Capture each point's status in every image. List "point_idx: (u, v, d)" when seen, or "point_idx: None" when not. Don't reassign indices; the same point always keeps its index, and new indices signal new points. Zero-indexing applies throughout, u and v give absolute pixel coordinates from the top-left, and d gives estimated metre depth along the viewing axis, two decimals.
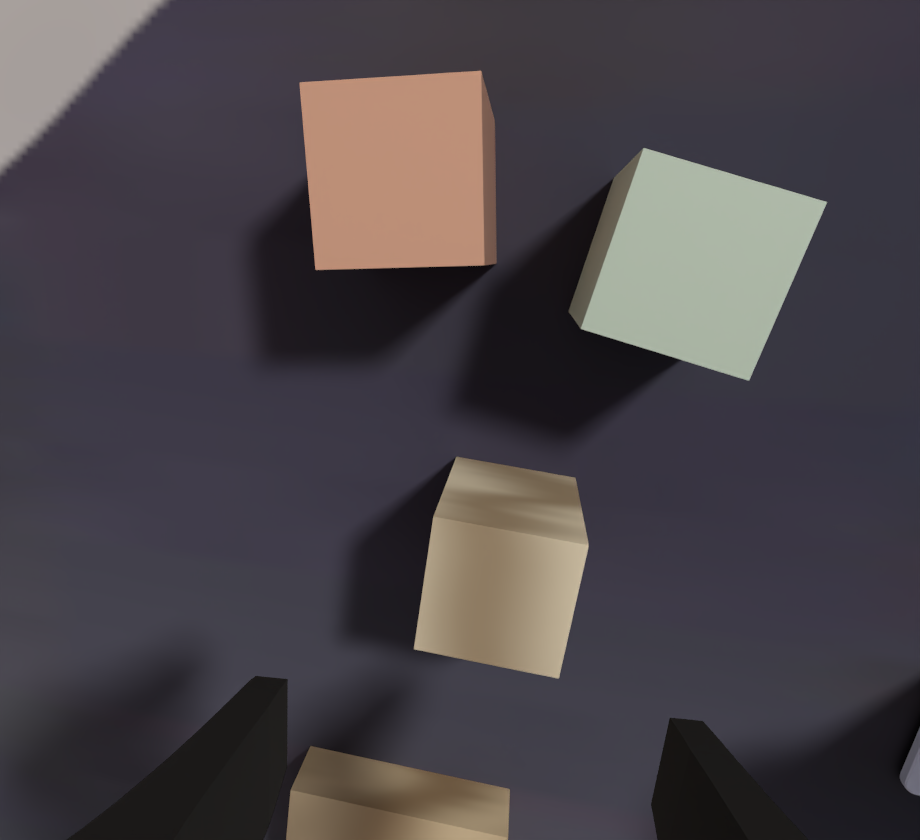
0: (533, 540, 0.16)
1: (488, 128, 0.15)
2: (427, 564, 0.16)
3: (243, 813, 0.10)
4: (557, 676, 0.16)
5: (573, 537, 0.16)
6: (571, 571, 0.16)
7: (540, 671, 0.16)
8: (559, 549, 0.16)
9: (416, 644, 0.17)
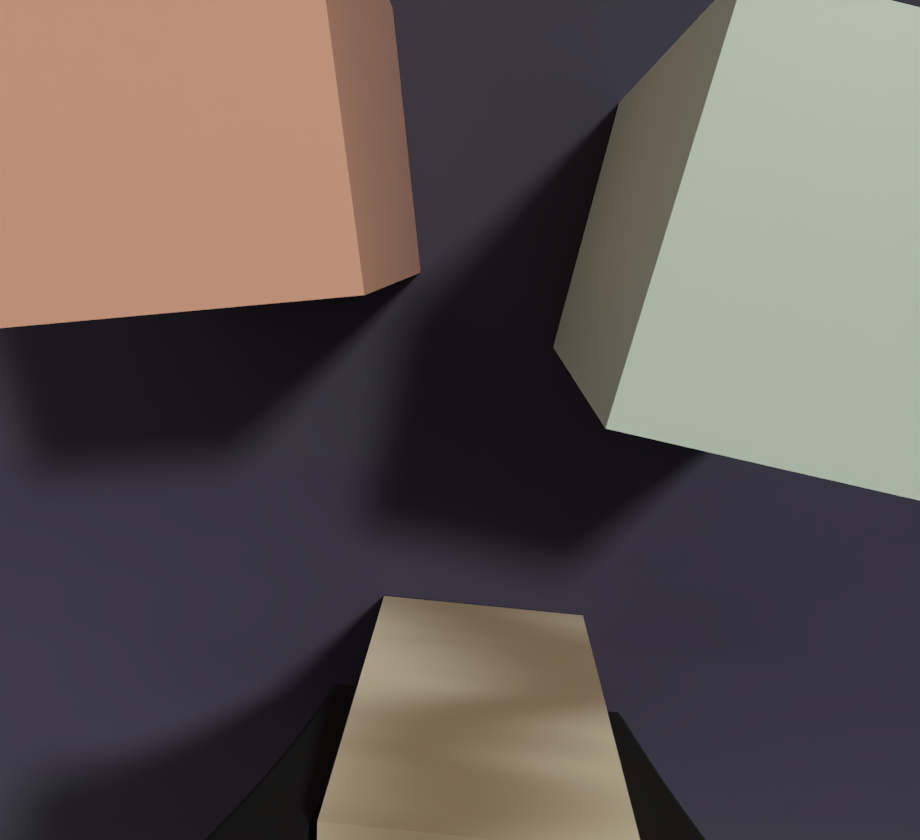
0: None
1: None
2: None
3: None
4: None
5: (610, 831, 0.08)
6: None
7: None
8: None
9: None
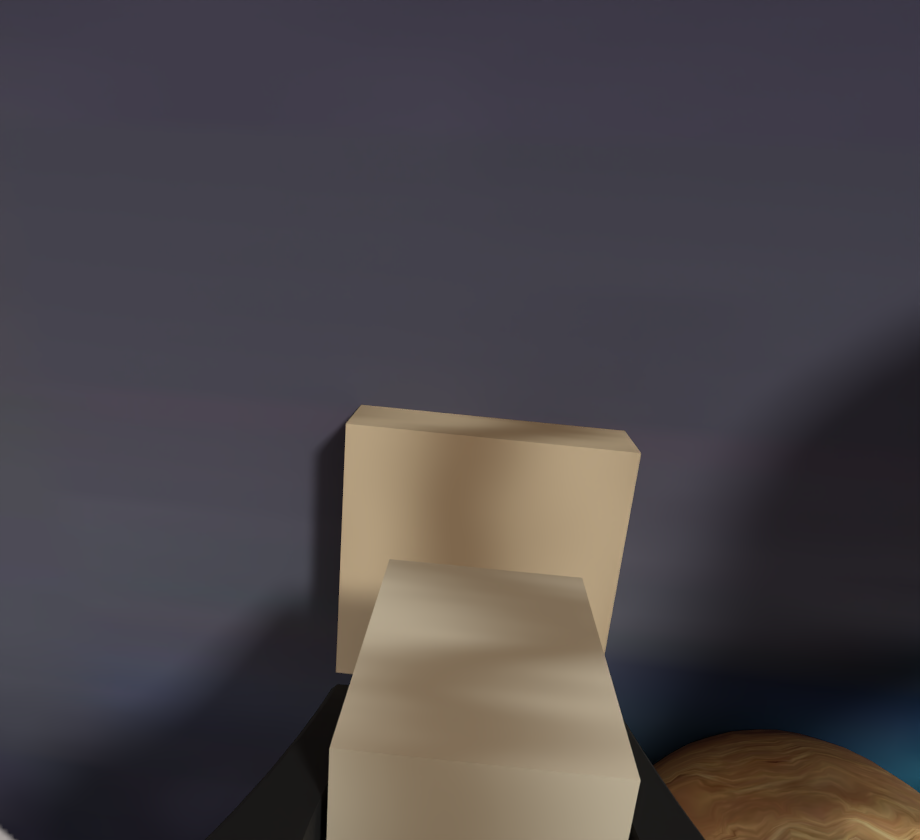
0: (532, 778, 0.08)
1: None
2: (328, 832, 0.08)
3: None
4: None
5: (609, 759, 0.08)
6: (608, 826, 0.08)
7: None
8: (585, 791, 0.08)
9: None
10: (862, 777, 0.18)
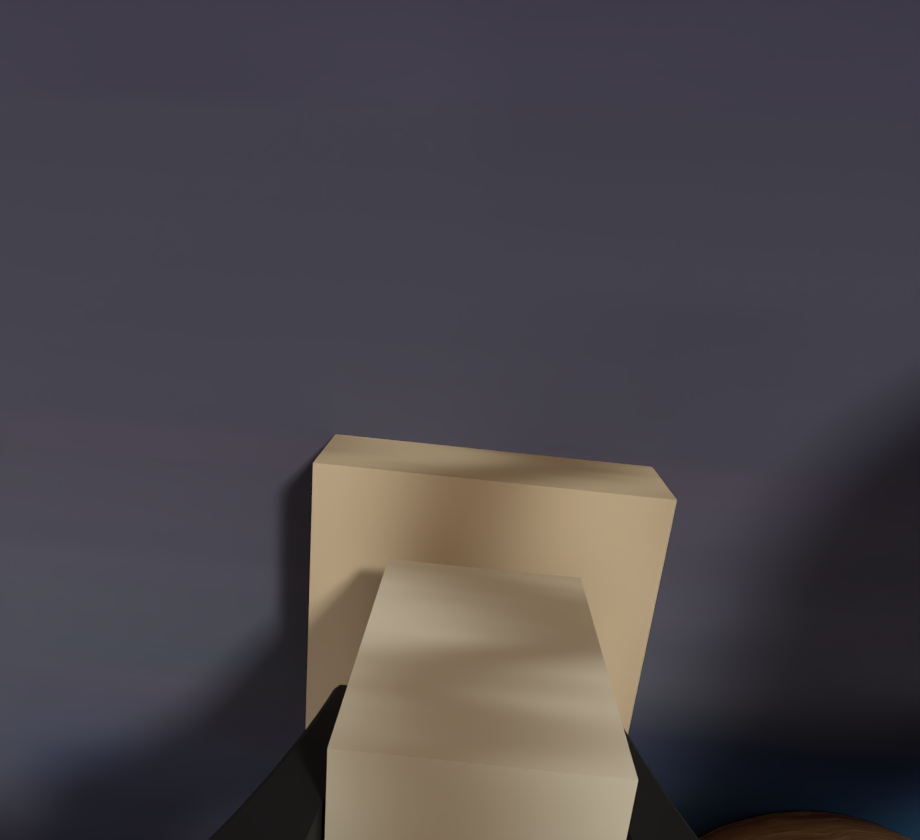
0: (529, 778, 0.08)
1: None
2: (327, 832, 0.08)
3: None
4: None
5: (606, 758, 0.08)
6: (607, 827, 0.08)
7: None
8: (583, 791, 0.08)
9: None
10: None
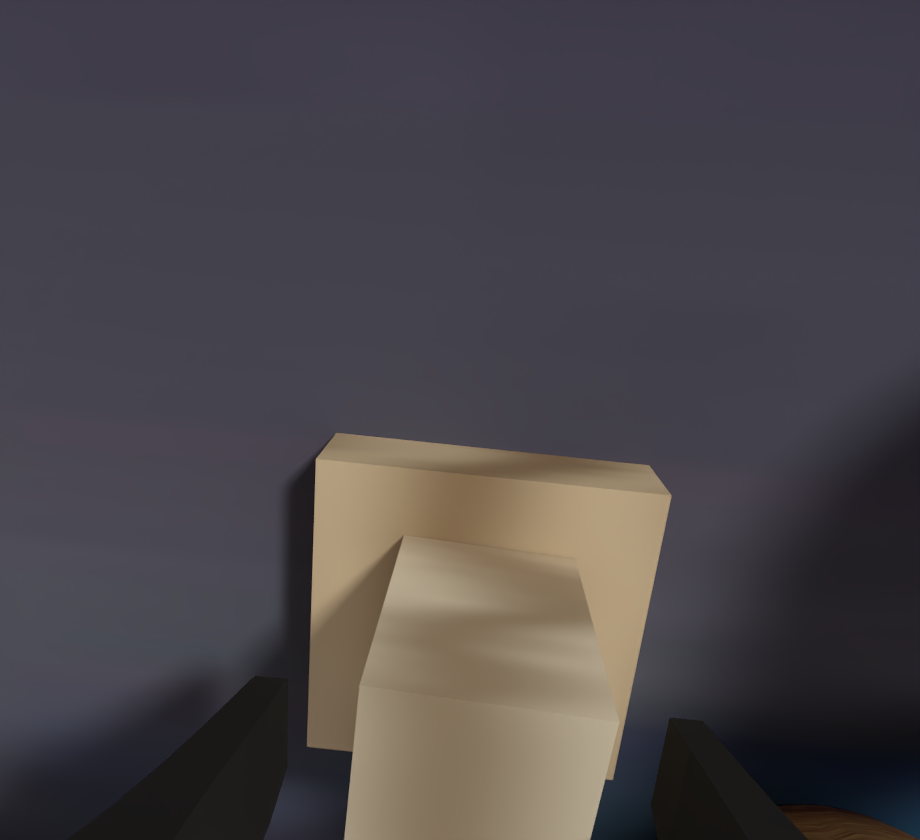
0: (528, 717, 0.09)
1: None
2: (354, 757, 0.10)
3: (243, 813, 0.10)
4: None
5: (593, 705, 0.10)
6: (590, 761, 0.10)
7: None
8: (572, 730, 0.09)
9: None
10: None
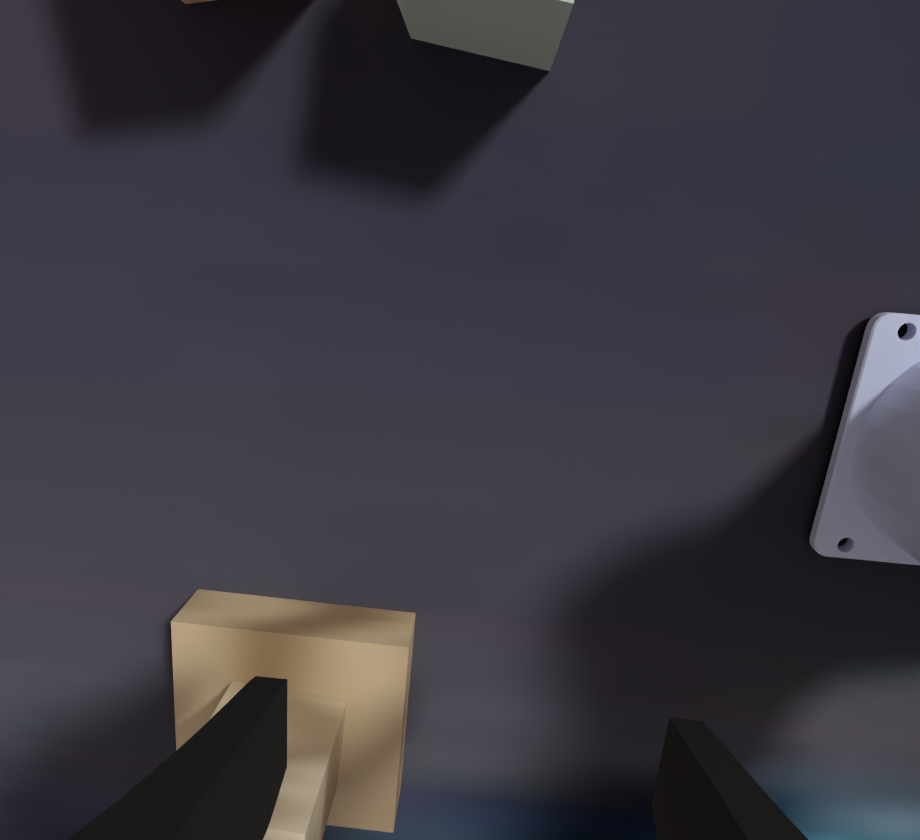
0: None
1: None
2: None
3: (243, 813, 0.10)
4: None
5: (295, 822, 0.16)
6: None
7: None
8: (279, 837, 0.16)
9: None
10: None
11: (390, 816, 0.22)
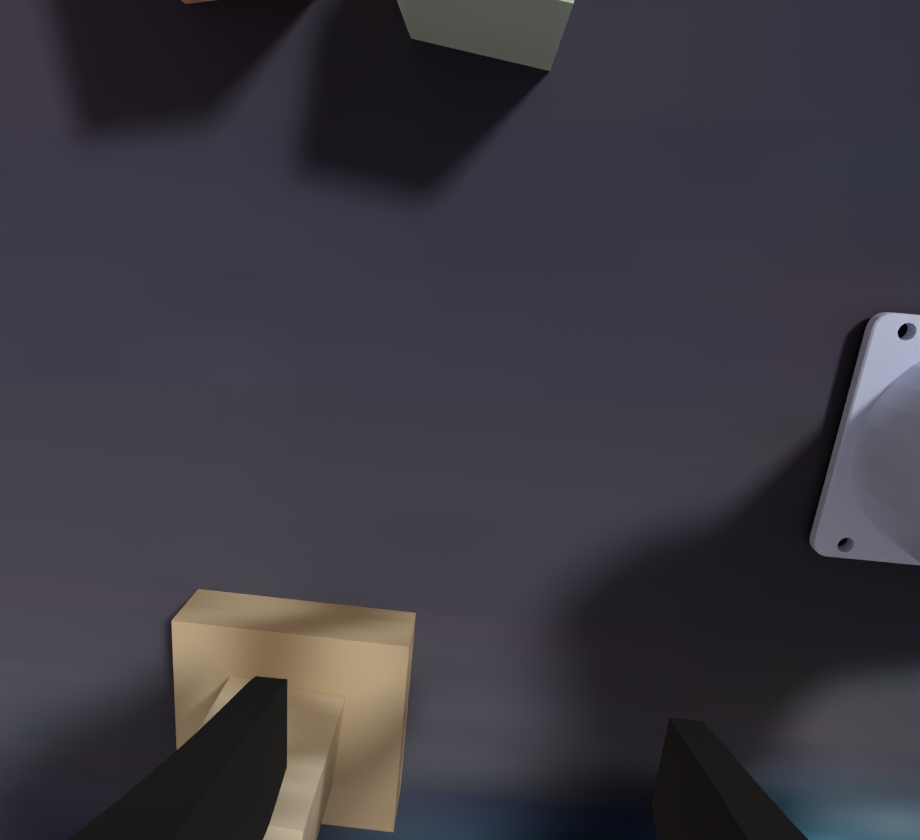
0: None
1: None
2: None
3: (243, 813, 0.10)
4: None
5: (293, 819, 0.16)
6: None
7: None
8: (277, 834, 0.16)
9: None
10: None
11: (390, 815, 0.22)
